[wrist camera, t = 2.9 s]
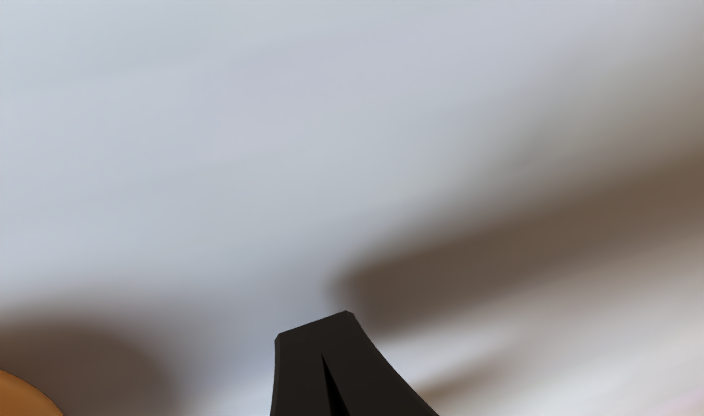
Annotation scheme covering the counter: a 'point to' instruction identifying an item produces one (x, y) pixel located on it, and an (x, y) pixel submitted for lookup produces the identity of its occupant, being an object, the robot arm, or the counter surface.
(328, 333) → the robot arm
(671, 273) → the counter surface
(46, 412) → the door knob
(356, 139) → the counter surface
